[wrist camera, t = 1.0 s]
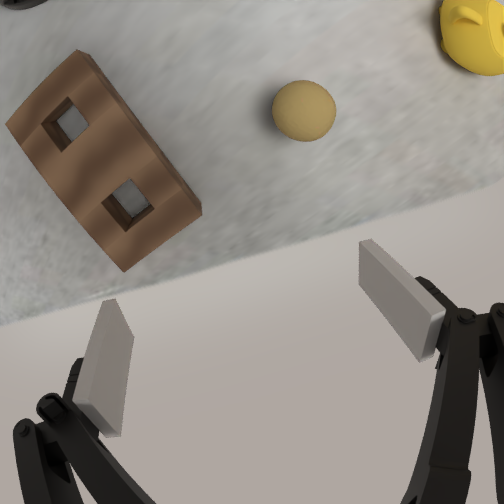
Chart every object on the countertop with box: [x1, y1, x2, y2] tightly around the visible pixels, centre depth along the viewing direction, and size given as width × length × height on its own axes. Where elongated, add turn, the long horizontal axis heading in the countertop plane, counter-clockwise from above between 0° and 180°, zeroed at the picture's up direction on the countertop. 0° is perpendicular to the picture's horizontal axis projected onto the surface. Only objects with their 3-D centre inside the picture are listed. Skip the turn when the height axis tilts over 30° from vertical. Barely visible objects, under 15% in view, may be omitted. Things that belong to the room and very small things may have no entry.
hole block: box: [5, 50, 202, 272], centre depth 32 cm, size 24×12×4 cm, turn 33°
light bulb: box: [272, 80, 336, 142], centre depth 31 cm, size 6×6×10 cm
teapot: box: [438, 0, 504, 76], centre depth 27 cm, size 13×20×12 cm
